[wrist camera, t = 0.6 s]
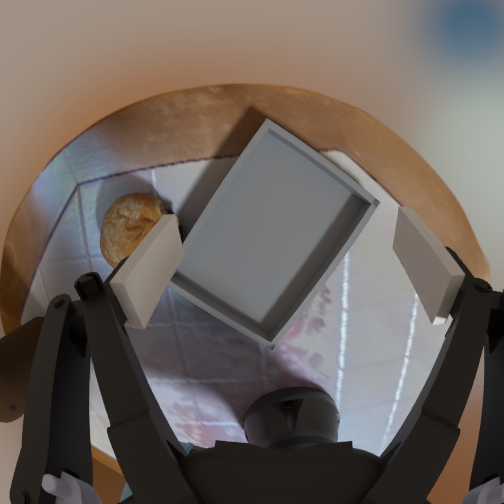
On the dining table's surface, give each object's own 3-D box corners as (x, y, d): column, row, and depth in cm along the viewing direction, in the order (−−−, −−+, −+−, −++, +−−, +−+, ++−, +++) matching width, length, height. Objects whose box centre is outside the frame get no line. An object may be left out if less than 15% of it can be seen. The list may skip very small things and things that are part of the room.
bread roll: (137, 190, 35) (89, 188, 28) (195, 198, 31) (144, 195, 24) (131, 260, 37) (85, 269, 30) (186, 280, 33) (137, 296, 26)
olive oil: (51, 306, 35) (-57, 384, 11) (82, 362, 37) (0, 461, 13) (20, 320, 36) (-69, 385, 11) (48, 369, 38) (-25, 449, 13)
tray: (270, 338, 36) (272, 350, 33) (167, 274, 34) (160, 281, 31) (369, 201, 32) (380, 202, 29) (265, 125, 30) (266, 118, 27)
